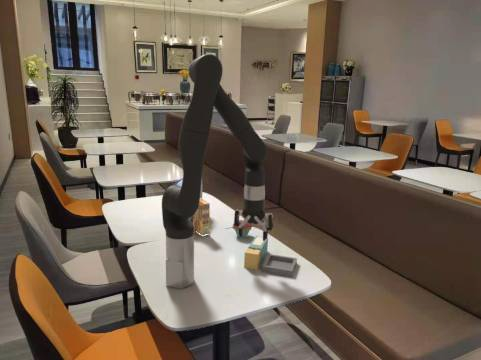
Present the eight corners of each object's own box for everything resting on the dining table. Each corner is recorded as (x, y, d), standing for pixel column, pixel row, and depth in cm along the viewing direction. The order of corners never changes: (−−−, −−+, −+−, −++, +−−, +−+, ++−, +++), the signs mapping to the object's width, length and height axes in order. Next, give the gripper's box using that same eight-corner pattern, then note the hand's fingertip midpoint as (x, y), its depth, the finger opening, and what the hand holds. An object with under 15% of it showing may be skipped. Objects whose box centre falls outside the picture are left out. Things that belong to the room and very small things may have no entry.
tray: (291, 276, 134) (292, 271, 133) (261, 271, 137) (262, 266, 136) (296, 263, 144) (296, 258, 143) (268, 258, 147) (268, 253, 146)
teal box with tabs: (260, 264, 142) (260, 248, 141) (247, 261, 144) (248, 247, 142) (267, 251, 154) (268, 237, 152) (255, 249, 155) (256, 235, 153)
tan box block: (257, 269, 138) (257, 254, 137) (244, 267, 140) (244, 252, 138) (259, 264, 142) (260, 249, 140) (247, 262, 143) (247, 247, 142)
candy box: (210, 235, 168) (210, 203, 164) (201, 237, 165) (201, 204, 161) (200, 229, 175) (200, 197, 171) (192, 231, 172) (192, 199, 169)
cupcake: (254, 234, 170) (255, 209, 167) (245, 241, 163) (246, 214, 160) (238, 230, 174) (239, 206, 171) (228, 236, 167) (229, 211, 164)
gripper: (232, 197, 133) (231, 239, 137) (271, 201, 129) (269, 245, 133) (238, 191, 140) (237, 232, 144) (275, 195, 136) (274, 236, 140)
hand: (253, 238), depth 139 cm, fingers open, 8 cm apart
